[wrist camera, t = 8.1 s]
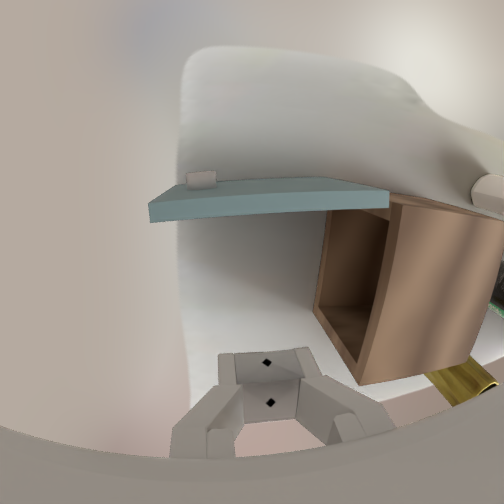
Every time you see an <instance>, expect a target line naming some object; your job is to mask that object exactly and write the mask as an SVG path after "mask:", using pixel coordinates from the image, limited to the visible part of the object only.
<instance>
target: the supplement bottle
mask: <svg viewBox="0 0 504 504" xmlns="http://www.w3.org/2000/svg"><path fill="white" fill-rule="evenodd" d="M488 308H489V309H490V310H492V311H493V312H495V313H496V314H498V315H499V316H500V317H502V318H503V319H504V261H503V260H501V263H500V267H499V271H498V275H497V278H496V282H495V286H494V289H493V292H492V295H491V299H490V302H489V305H488Z"/></svg>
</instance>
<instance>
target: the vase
mask: <svg viewBox="0 0 504 504" xmlns="http://www.w3.org/2000/svg"><path fill="white" fill-rule="evenodd" d="M424 375H425V376H426V377H427V378H428V379H429V380H430V381H431V382H432V383H433V384H434V385H435V387H436V388H437V389H438V390H439V392H440V393H441V394H442V395H443V396H444V397H445V399H446V400H447V401H448V402H449V403H450V404H451V406H452V407H454V406H456V405H458V404H461V403H463V402H465V401H467V400H469V399H472V398H474V397H476V396H478V395H480V394H482V393H484V392H486V391H488V390H490V389H492V388H494V387H496V386H497V385H499V384H498V382H497V381H496V379H495V378H493V377H492V376H491V375H490V374H489V373H488V372H487V371H486V370H485V369H484V368H483V367H482V366H481V365H479V364H478V363H477V362H476V361H475V360H474V359H473V358H472V357H471V356H470V355H469V357H468V359H467V361H466V362H465V363H462V364H459V365H455V366H451V367H448V368H444V369H440V370H436V371H432V372H428V373H424Z"/></svg>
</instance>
